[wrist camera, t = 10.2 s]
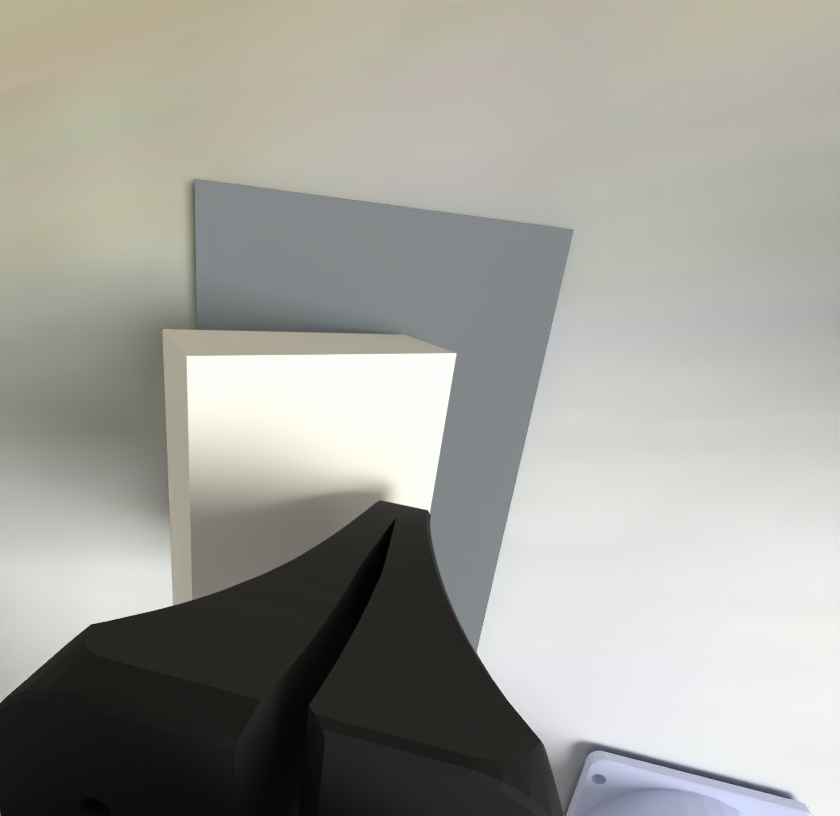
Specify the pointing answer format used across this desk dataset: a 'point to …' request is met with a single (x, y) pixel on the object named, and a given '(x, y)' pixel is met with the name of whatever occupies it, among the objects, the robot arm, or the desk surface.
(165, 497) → the desk surface
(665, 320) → the desk surface
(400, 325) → the mat
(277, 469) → the block
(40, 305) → the desk surface
